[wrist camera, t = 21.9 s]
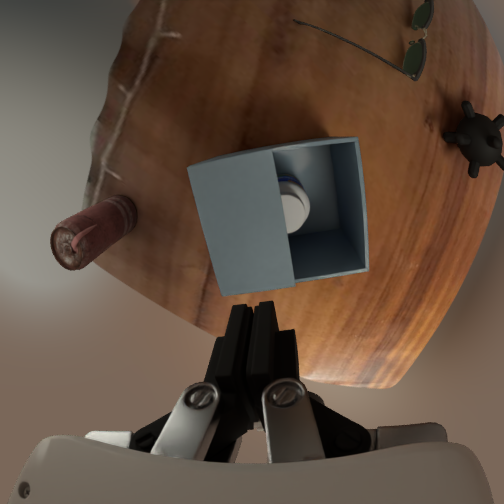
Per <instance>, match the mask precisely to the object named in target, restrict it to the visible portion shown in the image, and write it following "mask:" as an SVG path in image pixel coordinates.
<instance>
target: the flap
mask: <svg viewBox="0 0 504 504" xmlns="http://www.w3.org/2000/svg"><path fill="white" fill-rule="evenodd" d="M187 170H188V174H189V178H190V182H191V186H192V190H193V194H194V198H195V202H196V206H197V210H198V214H199V217H200V221H201V225H202V229H203V232H204V236H205V239H206V243H207V247H208V250H209V254H210V257H211V261H212V264H213V268H214V271H215V275H216V278H217V282H218V285H219V288H220V292H221V295H222V296H229V295H237V294H245V293H252V292H260V291H267V290H274V289H281V288H288V287H295V286H296V285H295V278H294V272H293V265H292V259H291V252H290V246H289V240H288V234H287V228H286V222H285V216H284V211H283V205H282V200H281V194H280V189H279V183H278V178H277V173H276V168H275V162H274V157H273V152H272V149H268V150H262V151H257V152H252V153H247V154H242V155H237V156H232V157H228V158H223V159H219V160H214V161H210V162H206V163H202V164H198V165H194V166H190V167H187Z"/></svg>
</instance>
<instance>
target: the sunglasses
mask: <svg viewBox="0 0 504 504" xmlns="http://www.w3.org/2000/svg"><path fill="white" fill-rule="evenodd" d="M424 2H425V3H424V4H422V5H421V6H419V7H418V8H417V10H416V11H415V14H414V16H413V20H412V29H413V30H418V29H423V30H424V32H425V36H424V37H423V38H421V39H419V40H418V42H417V43H415V41H410V42H409V44H410V45H411V46H410V47H409V49H408V50H407V52H406V54H405V58H404V62H403V70H402V69H401V68H399V67H397V66H396V65H394V64H392V63H390V62H389V61H387V60H385V59H383V58H382V57H380V56H378V55H376V54H375V53H373V52H371V51H369V50H367V49H365V48H363V47H361V46H359V45H357V44H355V43H353V42H351V41H349V40H347V39H344V38H342V37H340V36H338V35H336V34H333V33H331V32H329V31H326V30H324V29H321V28H319V27H316V26H313V25H310V24H307V23H304V22H301V21H297V20H295V19H294V21H296V22H297V23H299V24H303V25H308V26H311V27H313V28H316V29H319V30H321V31H323V32H326V33H328V34H330V35H333V36H335V37H337V38H339V39H341V40H343V41H345V42H347V43H350V44H352V45H354V46H356V47H358V48H360V49H362V50H364V51H365V52H367V53H369V54H371V55H373V56H375V57H377V58H378V59H380V60H382V61H383V62H385V63H387V64H389V65H390V66H392V67H393V68H395V69H397V70H398V71H400V72H402V73H403V74H405V75H406V76H408V77H409V78H411V79H412V80H413V81H417V80H418V79H419V77H420V75H421V73H422V71H423V68H424V65H425V61H426V53H427V50H426V43H425V40H424V38H425V37H426V36H427V31H426V29H427V28H428V26H429V25H430V23H431V20H432V18H433V13H434V3H433V0H425V1H424ZM412 44H413V45H412Z"/></svg>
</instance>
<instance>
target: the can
mask: <svg viewBox="0 0 504 504" xmlns="http://www.w3.org/2000/svg"><path fill="white" fill-rule="evenodd" d="M136 220H137V214H136V209H135V207H134V205H133V203H132V202H131V201H130V200H129V199H128V198H126V197H124V196H120V195H116V196H112V197H110V198H108V199H106V200H104V201H101V202H99V203H97V204H95V205H93V206H91V207H89V208H87V209H85V210H83V211H81V212H79V213H77V214H75V215H73V216H71V217H69V218H67V219H65V220H63V221H61V222H60V223H59V224H57V225H56V227H55V229H54V230H53V232H52V234H51V239H50V244H51V249H52V253H53V255H54V257H55V259H56V260H57V261H58V263H59V264H60V265H61V266H62V267H64V268H65V269H68V270H80V269H82V268H84V267H85V266H87V265H88V264H89V263H90V262H92V261H93V260H94V259H95V258H96V257H98V256H99V255H100V254H102V253H103V252H104V251H105V250H107V249H108V248H109V247H110V246H112V245H113V244H114V243H116V242H117V241H118V240H120V239H121V238H122V237H124V236H125V235H126V234H128V233H129V232H130V231H131V230H132V229H133V228H134V227H135V224H136Z"/></svg>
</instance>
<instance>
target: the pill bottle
mask: <svg viewBox="0 0 504 504" xmlns="http://www.w3.org/2000/svg"><path fill="white" fill-rule="evenodd" d="M277 178H278V183H279V189H280V194H281V200H282V205H283V211H284V216H285V222H286V228H287V233H292V232H294V231H296V230H298V229H299V228H300V227H301V226H302V224H303V223H304V222H305V220H306V219H307V217H308V215H309V211H310V202H309V199H308V196H307V194H306V192H305V190H304V187H303V185H302V184H301V182H300V181H299V180H298V179H297V178H295V177H294V176H291V175H288V174H279V175H277Z"/></svg>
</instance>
